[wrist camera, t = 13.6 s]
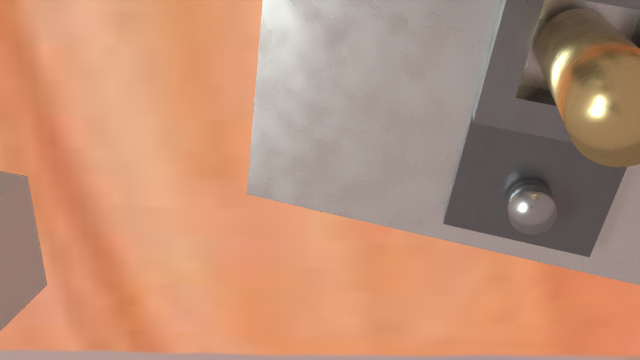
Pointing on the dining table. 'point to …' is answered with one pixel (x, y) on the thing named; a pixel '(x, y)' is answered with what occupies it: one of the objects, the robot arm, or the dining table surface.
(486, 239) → the square hole fixture plate
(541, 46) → the brass pin
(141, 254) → the dining table surface
